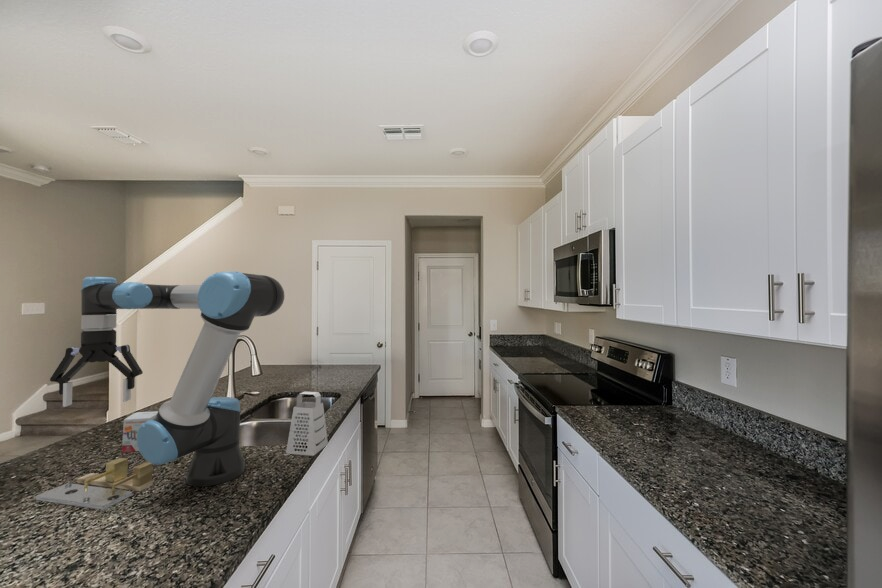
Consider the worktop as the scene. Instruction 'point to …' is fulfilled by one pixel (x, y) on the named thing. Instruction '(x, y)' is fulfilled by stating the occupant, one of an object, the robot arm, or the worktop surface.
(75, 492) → the bolt plate
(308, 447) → the grater
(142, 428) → the robot arm
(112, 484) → the rail
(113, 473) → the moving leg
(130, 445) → the ink box
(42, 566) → the worktop surface
